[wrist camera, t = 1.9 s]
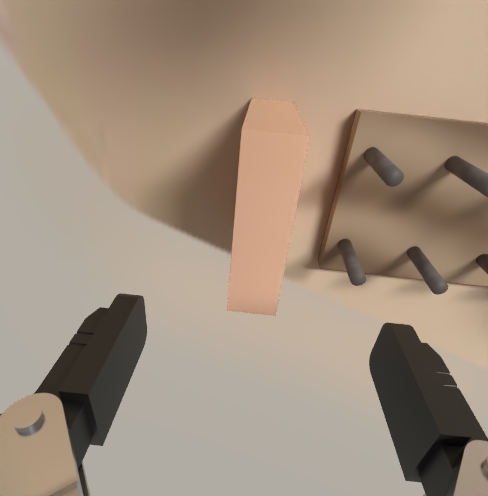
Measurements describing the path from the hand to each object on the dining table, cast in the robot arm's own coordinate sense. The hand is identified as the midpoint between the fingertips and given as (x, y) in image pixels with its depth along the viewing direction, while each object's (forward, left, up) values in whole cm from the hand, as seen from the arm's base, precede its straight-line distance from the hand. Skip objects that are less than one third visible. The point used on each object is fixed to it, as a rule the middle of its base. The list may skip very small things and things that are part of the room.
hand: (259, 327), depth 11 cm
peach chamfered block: (0, 0, -15) cm, 15 cm away
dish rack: (+1, +15, -15) cm, 21 cm away
